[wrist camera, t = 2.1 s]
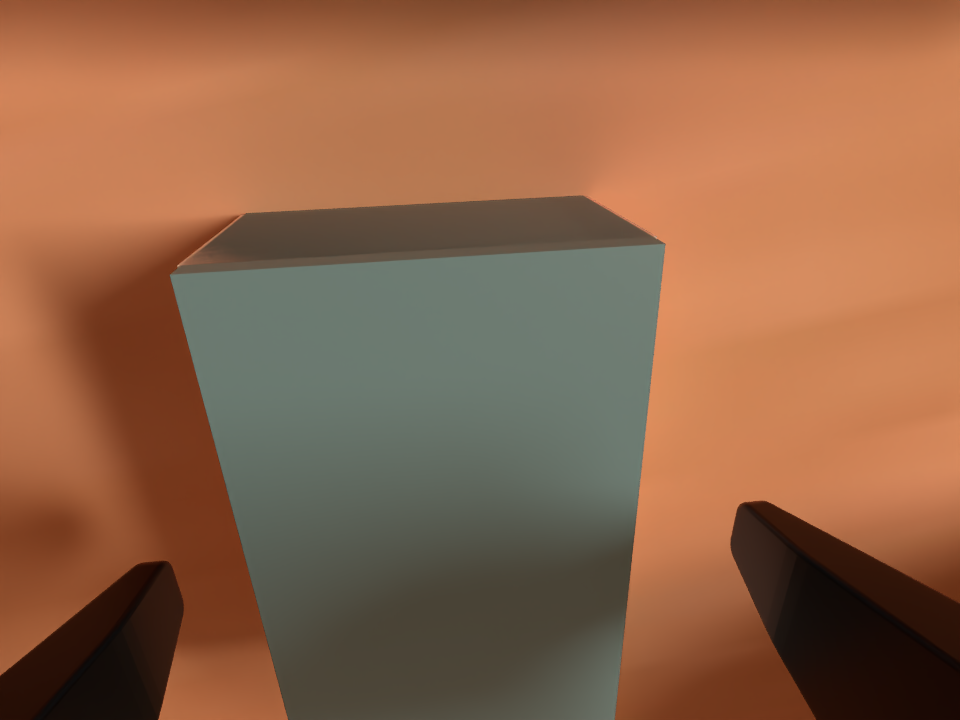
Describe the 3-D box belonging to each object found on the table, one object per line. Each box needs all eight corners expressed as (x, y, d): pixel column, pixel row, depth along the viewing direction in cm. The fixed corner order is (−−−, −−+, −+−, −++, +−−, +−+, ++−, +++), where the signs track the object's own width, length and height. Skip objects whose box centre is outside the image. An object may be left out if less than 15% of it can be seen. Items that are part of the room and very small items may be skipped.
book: (564, 585, 15) (615, 738, 12) (327, 613, 15) (303, 784, 11) (580, 192, 11) (668, 243, 7) (247, 210, 10) (165, 275, 7)
